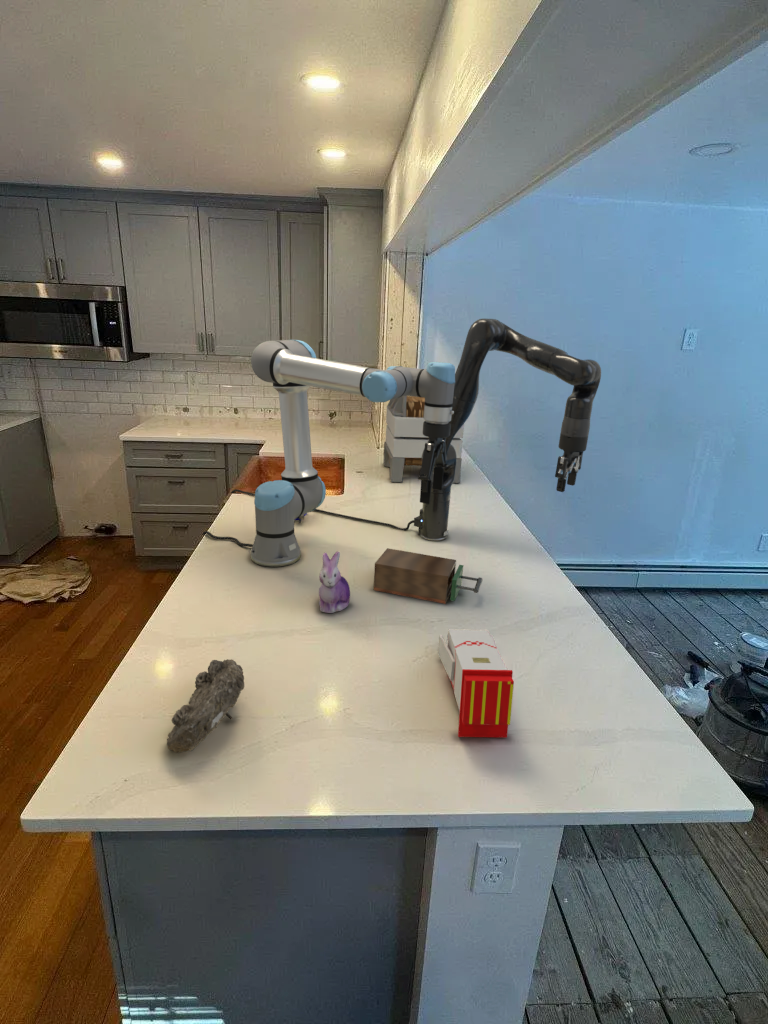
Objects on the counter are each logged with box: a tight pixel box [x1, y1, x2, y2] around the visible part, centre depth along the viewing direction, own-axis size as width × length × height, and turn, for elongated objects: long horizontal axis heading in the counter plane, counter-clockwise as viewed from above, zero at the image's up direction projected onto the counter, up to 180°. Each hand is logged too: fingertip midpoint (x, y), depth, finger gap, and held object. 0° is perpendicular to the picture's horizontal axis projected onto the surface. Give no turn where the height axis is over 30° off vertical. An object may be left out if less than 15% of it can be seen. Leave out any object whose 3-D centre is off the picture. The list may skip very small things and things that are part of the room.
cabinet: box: [373, 548, 457, 605], centre depth 160 cm, size 21×11×8 cm, turn 72°
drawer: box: [447, 564, 483, 602], centre depth 159 cm, size 25×10×6 cm, turn 72°
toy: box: [437, 628, 515, 738], centre depth 117 cm, size 12×13×30 cm
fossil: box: [166, 658, 245, 754], centre depth 106 cm, size 22×10×15 cm
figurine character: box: [294, 513, 308, 524], centre depth 208 cm, size 7×8×15 cm
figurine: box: [318, 551, 351, 614], centre depth 147 cm, size 9×10×15 cm
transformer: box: [383, 396, 465, 484], centre depth 268 cm, size 34×33×41 cm
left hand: (431, 495), depth 161 cm, fingers open, 13 cm apart
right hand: (565, 488), depth 165 cm, fingers open, 8 cm apart
